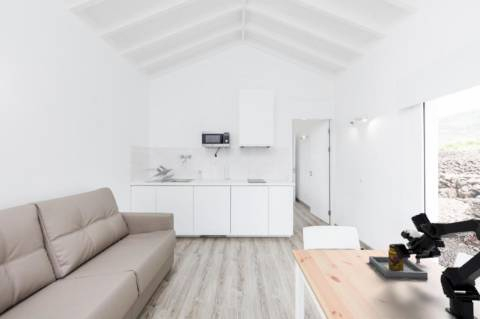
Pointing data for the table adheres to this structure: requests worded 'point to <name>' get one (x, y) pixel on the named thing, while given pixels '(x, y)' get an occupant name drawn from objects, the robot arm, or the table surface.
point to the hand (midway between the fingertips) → (406, 258)
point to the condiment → (394, 260)
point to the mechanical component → (409, 248)
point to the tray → (410, 271)
